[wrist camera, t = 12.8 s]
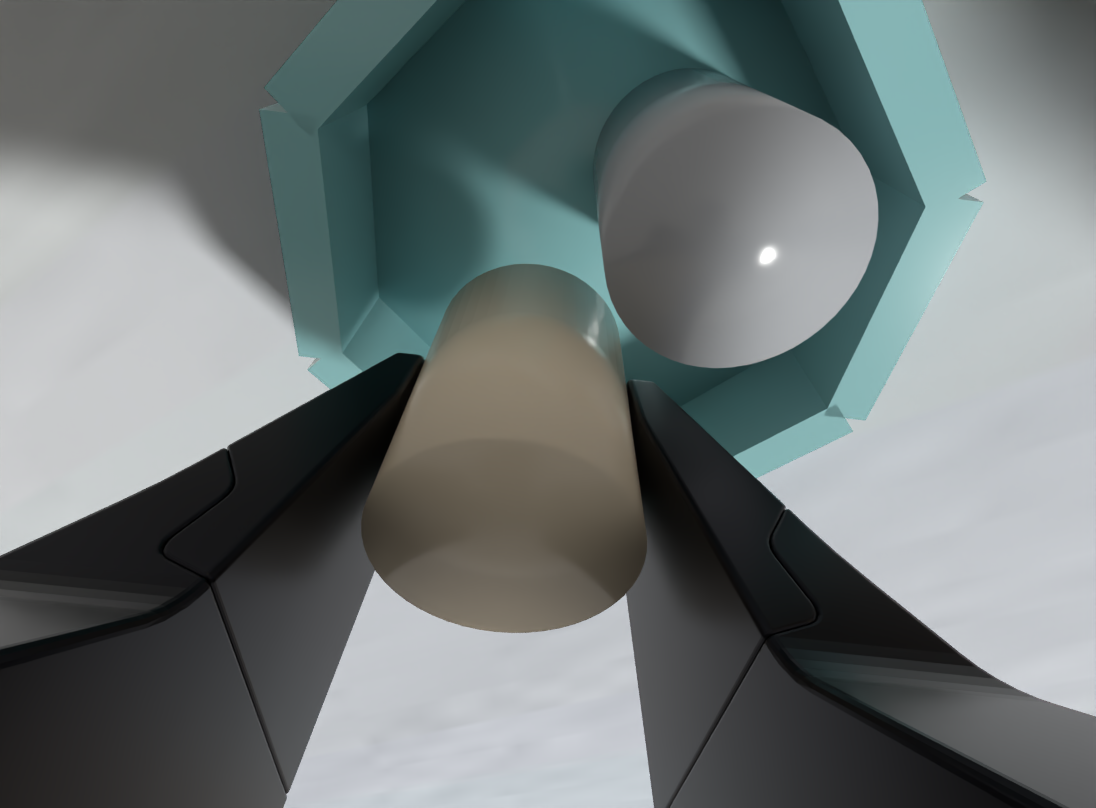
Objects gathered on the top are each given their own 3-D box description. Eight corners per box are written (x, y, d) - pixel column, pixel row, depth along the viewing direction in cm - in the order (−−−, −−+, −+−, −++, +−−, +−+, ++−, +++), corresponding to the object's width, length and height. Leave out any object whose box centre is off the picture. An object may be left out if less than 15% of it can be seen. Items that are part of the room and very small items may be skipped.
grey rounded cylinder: (794, 81, 10) (932, 128, 6) (736, 261, 12) (814, 381, 8) (609, 55, 10) (634, 85, 6) (580, 240, 11) (584, 352, 8)
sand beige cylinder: (637, 276, 9) (679, 458, 6) (603, 431, 11) (618, 643, 7) (439, 252, 9) (349, 420, 5) (438, 412, 11) (371, 619, 7)
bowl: (985, -62, 9) (1140, -86, 7) (764, 450, 15) (801, 537, 13) (309, -161, 9) (205, -225, 6) (361, 406, 15) (320, 486, 12)
